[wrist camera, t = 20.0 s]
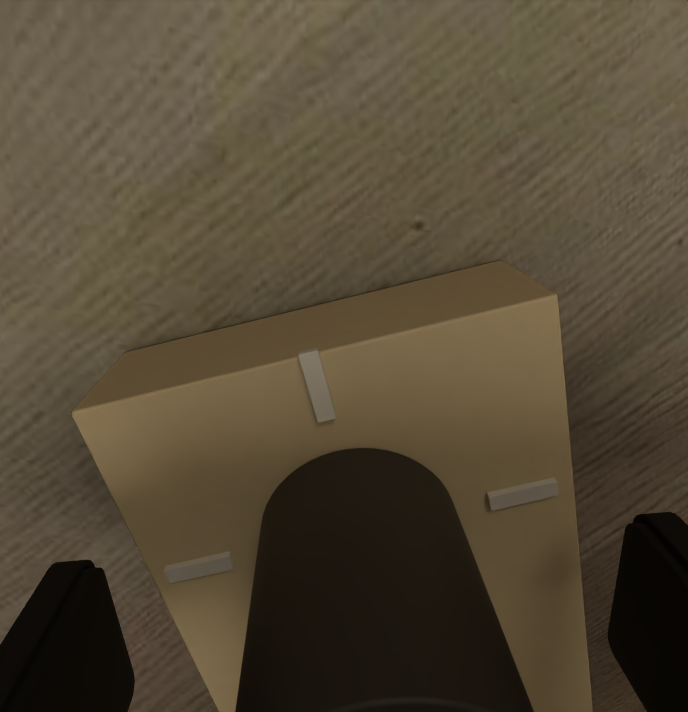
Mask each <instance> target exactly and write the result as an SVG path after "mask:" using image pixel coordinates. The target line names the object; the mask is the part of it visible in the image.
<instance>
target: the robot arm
mask: <svg viewBox="0 0 688 712" xmlns="http://www.w3.org/2000/svg"><path fill="white" fill-rule="evenodd" d="M608 640H609V644H610V648H611V650H612V653H613V655H614V657H615V658H616V660H617V662H618V663H619V665H620V667H621V668H622V670H623V672H624V674H625V675H626V677H627V679H628V680H629V682H630V684H631V685H632V687H633V689H634V691H635V692H636V694H637V696H638V697H639V699H640V701H641V702H642V704H643V706H644V708H645V709H646V711H647V712H688V525H687V524H686V523H685V522H684V521H683V520H682V519H681V518H680V517H679V516H677V515H676V514H675V513H672V512H662V513H650V514H640V515H637V516H636V517H635V518H634V521H633V523H631V524H628V525H627V526H626V529H625V533H624V539H623V545H622V551H621V557H620V563H619V569H618V575H617V581H616V587H615V593H614V599H613V605H612V611H611V617H610V622H609V628H608ZM134 683H135V681H134V672H133V669H132V665H131V662H130V658H129V655H128V651H127V648H126V645H125V641H124V638H123V634H122V631H121V627H120V624H119V621H118V617H117V614H116V610H115V607H114V603H113V600H112V597H111V593H110V590H109V586H108V583H107V579H106V576H105V573H104V570H103V569H102V568H95V566H94V564H93V562H92V561H91V560H79V561H67V562H56V563H54V564H52V565H51V567H50V568H49V569H48V571H47V572H46V574H45V575H44V577H43V578H42V580H41V582H40V583H39V585H38V586H37V588H36V589H35V591H34V593H33V594H32V596H31V597H30V599H29V600H28V602H27V604H26V605H25V607H24V608H23V610H22V612H21V613H20V615H19V616H18V618H17V619H16V621H15V623H14V624H13V626H12V627H11V629H10V630H9V632H8V634H7V635H6V637H5V638H4V640H3V641H2V643H1V645H0V712H128V709H129V706H130V703H131V700H132V696H133V692H134Z"/></svg>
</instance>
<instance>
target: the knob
mask: <svg viewBox="0 0 688 712" xmlns="http://www.w3.org/2000/svg"><path fill="white" fill-rule="evenodd" d="M235 712H534V710H533V708H532V705H531V703H530V700H529V697H528V695H527V692H526V690H525V687H524V684H523V682H522V679H521V677H520V674H519V672H518V669H517V666H516V664H515V661H514V659H513V656H512V653H511V651H510V648H509V646H508V643H507V640H506V638H505V635H504V633H503V630H502V628H501V625H500V622H499V620H498V617H497V615H496V612H495V609H494V607H493V604H492V602H491V599H490V597H489V594H488V591H487V589H486V586H485V584H484V581H483V578H482V576H481V573H480V571H479V568H478V566H477V563H476V560H475V558H474V555H473V553H472V550H471V547H470V545H469V542H468V540H467V537H466V534H465V532H464V529H463V527H462V524H461V522H460V519H459V516H458V514H457V511H456V509H455V506H454V503H453V501H452V498H451V496H450V494H449V493H448V491H447V489H446V487H445V486H444V485H443V483H442V482H441V481H440V479H439V478H438V477H437V476H436V475H435V474H434V473H433V472H431V471H430V470H429V469H427V468H426V467H425V466H424V465H422V464H420V463H419V462H417V461H415V460H413V459H411V458H409V457H407V456H404V455H402V454H399V453H396V452H392V451H388V450H382V449H375V448H353V449H344V450H339V451H334V452H331V453H328V454H325V455H322V456H319V457H317V458H315V459H313V460H310V461H308V462H307V463H305V464H303V465H302V466H300V467H298V468H297V469H296V470H295V471H293V472H292V473H291V474H290V475H288V476H287V477H286V478H285V479H284V480H283V481H282V482H281V483H280V484H279V485H278V487H277V488H276V490H275V491H274V492H273V494H272V495H271V497H270V499H269V501H268V503H267V505H266V507H265V510H264V513H263V517H262V522H261V529H260V536H259V543H258V550H257V558H256V565H255V572H254V579H253V587H252V594H251V601H250V608H249V615H248V623H247V630H246V637H245V644H244V652H243V659H242V666H241V673H240V680H239V688H238V695H237V702H236V709H235Z"/></svg>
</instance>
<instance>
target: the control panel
mask: <svg viewBox="0 0 688 712" xmlns="http://www.w3.org/2000/svg"><path fill="white" fill-rule="evenodd" d="M71 414H72V417H73V419H74V421H75V423H76V425H77V427H78V429H79V431H80V433H81V435H82V437H83V439H84V441H85V443H86V445H87V447H88V449H89V451H90V453H91V455H92V457H93V459H94V461H95V463H96V465H97V467H98V469H99V471H100V473H101V475H102V477H103V479H104V481H105V483H106V485H107V487H108V489H109V491H110V493H111V495H112V497H113V499H114V501H115V503H116V505H117V507H118V509H119V511H120V513H121V515H122V517H123V519H124V521H125V523H126V525H127V527H128V529H129V531H130V533H131V535H132V537H133V539H134V541H135V543H136V545H137V547H138V549H139V551H140V554H141V556H142V558H143V560H144V562H145V564H146V566H147V568H148V570H149V572H150V574H151V576H152V578H153V580H154V582H155V584H156V586H157V588H158V590H159V592H160V594H161V596H162V598H163V600H164V602H165V604H166V606H167V608H168V610H169V612H170V614H171V616H172V618H173V620H174V622H175V624H176V626H177V628H178V630H179V632H180V634H181V636H182V638H183V640H184V642H185V644H186V646H187V648H188V650H189V652H190V654H191V656H192V658H193V660H194V662H195V664H196V666H197V668H198V670H199V672H200V674H201V676H202V678H203V680H204V682H205V684H206V686H207V688H208V690H209V692H210V695H211V697H212V699H213V701H214V703H215V705H216V707H217V709H218V711H219V712H235V709H236V702H237V695H238V688H239V680H240V673H241V666H242V659H243V652H244V644H245V637H246V630H247V623H248V615H249V608H250V601H251V594H252V587H253V579H254V572H255V565H256V558H257V550H258V543H259V536H260V529H261V522H262V517H263V513H264V510H265V507H266V505H267V503H268V501H269V499H270V497H271V495H272V494H273V492H274V491H275V490H276V488H277V487H278V485H279V484H280V483H281V482H282V481H283V480H284V479H285V478H286V477H287V476H288V475H290V474H291V473H292V472H293V471H295V470H296V469H297V468H298V467H300V466H302V465H303V464H305V463H307V462H308V461H310V460H313V459H315V458H317V457H319V456H322V455H325V454H328V453H331V452H334V451H339V450H344V449H353V448H375V449H382V450H388V451H392V452H396V453H399V454H402V455H404V456H407V457H409V458H411V459H413V460H415V461H417V462H419V463H420V464H422V465H424V466H425V467H426V468H427V469H429V470H430V471H431V472H433V473H434V474H435V475H436V476H437V477H438V478H439V479H440V481H441V482H442V483H443V485H444V486H445V487H446V489H447V491H448V493H449V494H450V496H451V498H452V501H453V503H454V506H455V509H456V511H457V514H458V516H459V519H460V522H461V524H462V527H463V529H464V532H465V534H466V537H467V540H468V542H469V545H470V547H471V550H472V553H473V555H474V558H475V560H476V563H477V566H478V568H479V571H480V573H481V576H482V578H483V581H484V584H485V586H486V589H487V591H488V594H489V597H490V599H491V602H492V604H493V607H494V609H495V612H496V615H497V617H498V620H499V622H500V625H501V628H502V630H503V633H504V635H505V638H506V640H507V643H508V646H509V648H510V651H511V653H512V656H513V659H514V661H515V664H516V666H517V669H518V672H519V674H520V677H521V679H522V682H523V684H524V687H525V690H526V692H527V695H528V697H529V700H530V703H531V705H532V708H533V710H534V712H593V707H592V695H591V684H590V672H589V660H588V648H587V636H586V625H585V613H584V601H583V589H582V577H581V566H580V554H579V542H578V530H577V518H576V507H575V495H574V483H573V471H572V459H571V448H570V436H569V424H568V412H567V401H566V389H565V377H564V365H563V353H562V342H561V330H560V318H559V306H558V296H557V294H555V293H553V292H552V291H550V290H549V289H547V288H545V287H544V286H542V285H541V284H539V283H538V282H536V281H534V280H533V279H531V278H530V277H528V276H526V275H525V274H523V273H522V272H520V271H518V270H517V269H515V268H514V267H512V266H510V265H509V264H507V263H506V262H504V261H502V260H499V261H495V262H491V263H487V264H483V265H479V266H475V267H471V268H467V269H463V270H459V271H455V272H451V273H446V274H442V275H438V276H434V277H430V278H426V279H422V280H418V281H414V282H410V283H406V284H402V285H398V286H393V287H389V288H385V289H381V290H377V291H373V292H369V293H365V294H361V295H357V296H353V297H349V298H345V299H341V300H336V301H332V302H328V303H324V304H320V305H316V306H312V307H308V308H304V309H300V310H296V311H292V312H288V313H283V314H279V315H275V316H271V317H267V318H263V319H259V320H255V321H251V322H247V323H243V324H239V325H235V326H230V327H226V328H222V329H218V330H214V331H210V332H206V333H202V334H198V335H194V336H190V337H186V338H182V339H177V340H173V341H169V342H165V343H161V344H157V345H153V346H149V347H145V348H141V349H137V350H133V351H129V352H125V353H124V354H123V355H122V356H121V357H120V358H119V360H118V361H117V362H116V363H115V364H114V365H113V366H112V367H111V368H110V370H109V371H108V372H107V373H106V374H105V375H104V376H103V377H102V378H101V380H100V381H99V382H98V383H97V384H96V385H95V386H94V387H93V388H92V389H91V391H90V392H89V393H88V394H87V395H86V396H85V397H84V398H83V399H82V401H81V402H80V403H79V404H78V405H77V406H76V407H75V408H74V409H73V411H72V412H71Z"/></svg>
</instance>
